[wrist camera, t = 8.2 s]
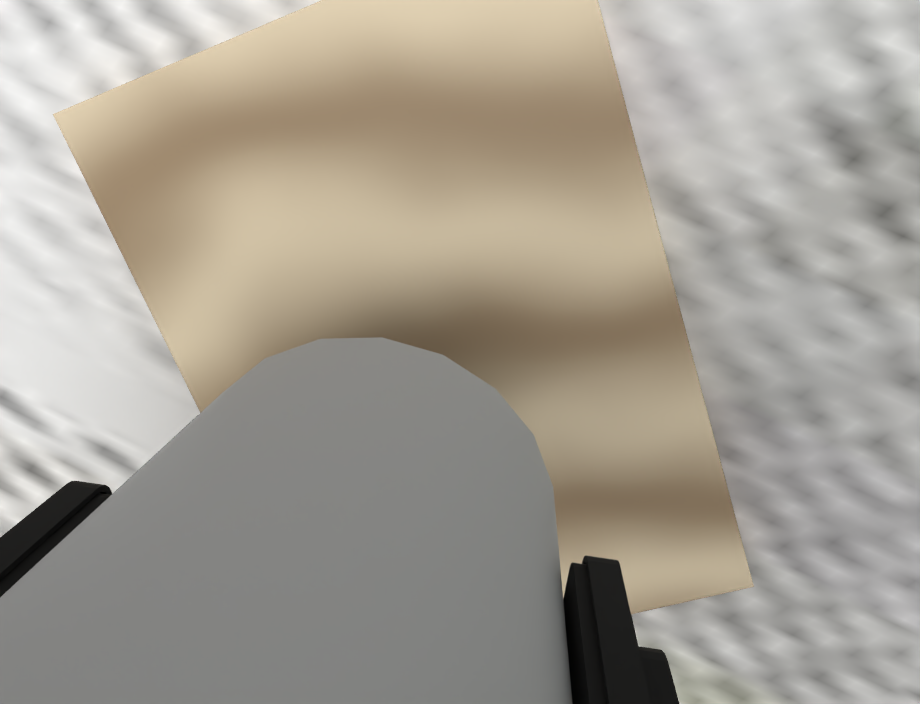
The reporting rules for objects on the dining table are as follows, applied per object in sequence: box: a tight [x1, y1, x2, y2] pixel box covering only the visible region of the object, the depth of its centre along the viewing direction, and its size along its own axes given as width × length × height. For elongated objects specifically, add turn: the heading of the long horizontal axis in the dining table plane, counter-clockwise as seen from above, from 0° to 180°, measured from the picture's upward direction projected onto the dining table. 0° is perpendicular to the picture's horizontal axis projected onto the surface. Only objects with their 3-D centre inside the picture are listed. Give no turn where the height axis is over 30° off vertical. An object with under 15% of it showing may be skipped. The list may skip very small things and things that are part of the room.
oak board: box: [53, 0, 754, 614], centre depth 23 cm, size 22×16×2 cm
